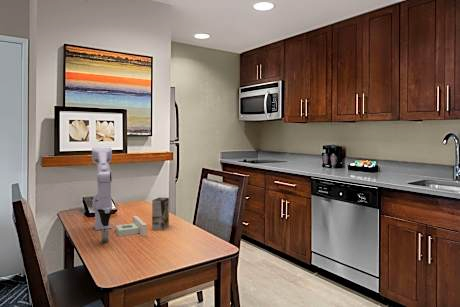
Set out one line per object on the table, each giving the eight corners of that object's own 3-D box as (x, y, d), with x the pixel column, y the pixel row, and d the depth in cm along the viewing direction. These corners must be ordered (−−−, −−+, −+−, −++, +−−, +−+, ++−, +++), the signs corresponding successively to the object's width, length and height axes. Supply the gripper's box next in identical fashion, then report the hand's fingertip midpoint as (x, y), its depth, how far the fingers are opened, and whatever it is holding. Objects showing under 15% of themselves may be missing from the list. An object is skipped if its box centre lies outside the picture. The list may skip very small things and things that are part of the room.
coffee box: (162, 230, 176) (162, 200, 175) (151, 229, 177) (151, 200, 176) (169, 225, 185) (169, 197, 184) (158, 225, 186) (158, 197, 185)
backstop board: (132, 226, 182) (132, 216, 182) (136, 226, 183) (136, 215, 183) (142, 236, 165) (142, 224, 165) (146, 236, 166) (146, 224, 166)
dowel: (101, 241, 157) (101, 229, 156) (107, 240, 158) (107, 228, 158) (102, 243, 154) (102, 231, 154) (108, 242, 156) (108, 230, 155)
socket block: (115, 231, 174) (115, 225, 174) (134, 228, 179) (134, 223, 179) (119, 236, 165) (119, 230, 165) (139, 233, 170) (139, 227, 170)
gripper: (93, 194, 159) (93, 222, 160) (97, 200, 146) (98, 230, 147) (108, 193, 163) (108, 220, 163) (114, 198, 150) (114, 227, 151)
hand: (104, 224), depth 156 cm, fingers open, 3 cm apart
